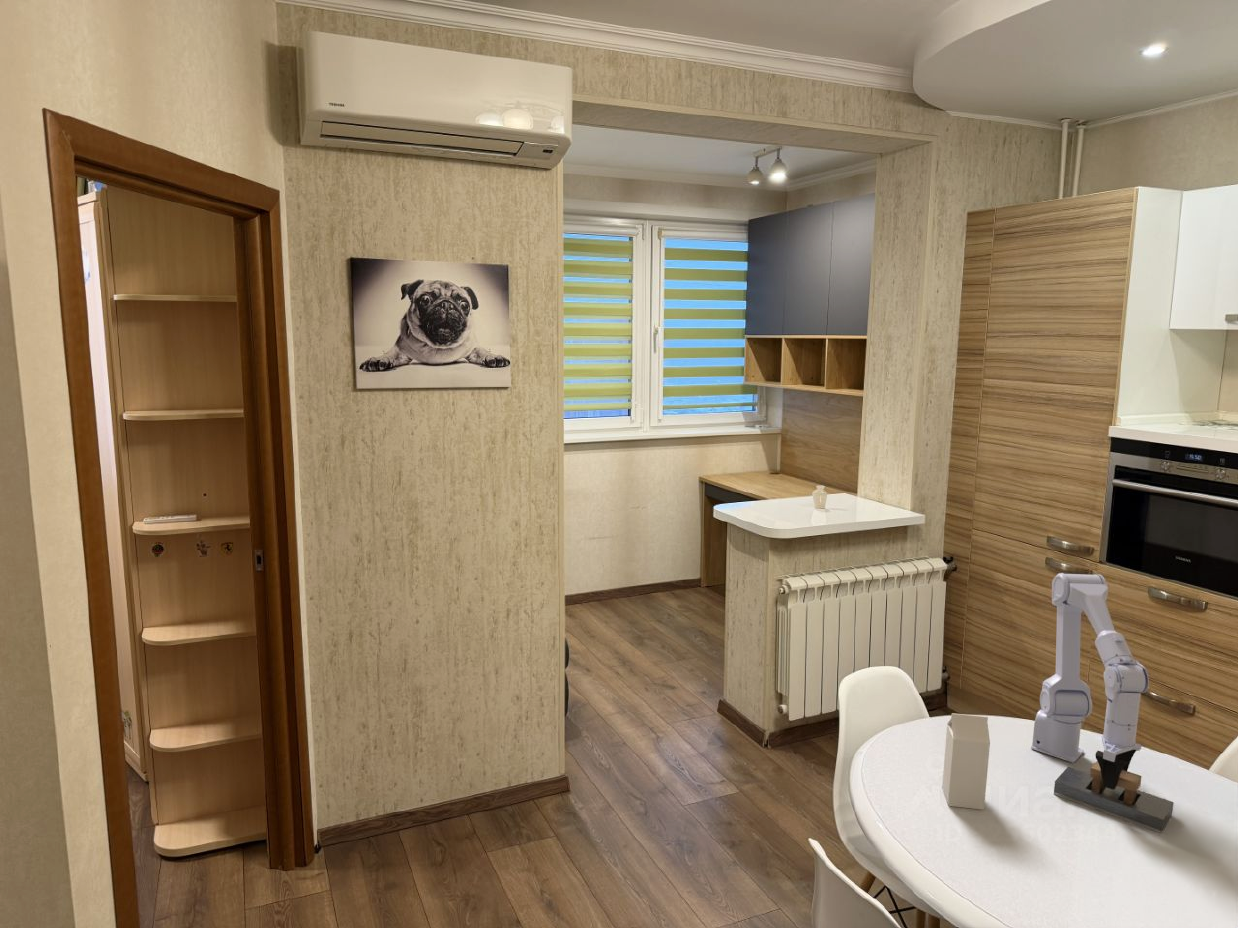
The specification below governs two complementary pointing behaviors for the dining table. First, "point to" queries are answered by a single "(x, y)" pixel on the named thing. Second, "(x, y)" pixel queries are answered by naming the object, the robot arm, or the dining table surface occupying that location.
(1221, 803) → the dining table surface
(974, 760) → the milk carton
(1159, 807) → the grey slotted block
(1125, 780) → the wooden arch block
